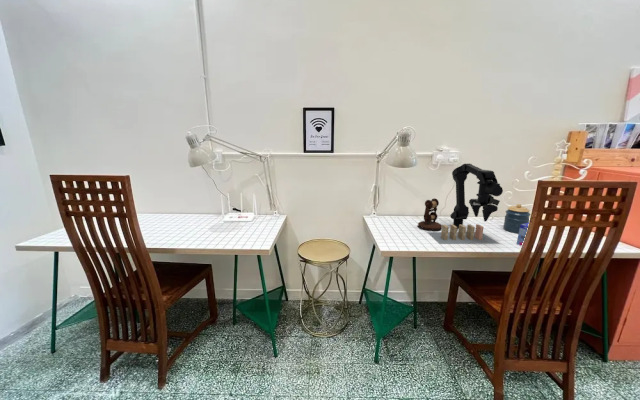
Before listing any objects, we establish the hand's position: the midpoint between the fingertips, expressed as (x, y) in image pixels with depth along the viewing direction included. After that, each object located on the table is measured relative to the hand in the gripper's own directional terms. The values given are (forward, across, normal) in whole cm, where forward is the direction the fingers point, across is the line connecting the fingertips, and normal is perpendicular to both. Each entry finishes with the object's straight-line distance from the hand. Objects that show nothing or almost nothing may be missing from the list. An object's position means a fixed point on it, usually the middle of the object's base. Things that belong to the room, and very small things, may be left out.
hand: (480, 218), depth 155 cm
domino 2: (+12, 0, +15) cm, 19 cm away
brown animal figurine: (+13, +20, +21) cm, 32 cm away
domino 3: (+12, 0, +10) cm, 16 cm away
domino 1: (+12, 0, +20) cm, 23 cm away
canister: (+13, +15, -32) cm, 38 cm away
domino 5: (+12, 0, 0) cm, 12 cm away
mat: (+13, +2, +9) cm, 16 cm away
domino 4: (+12, 0, +5) cm, 13 cm away
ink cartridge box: (+13, -9, -22) cm, 27 cm away
